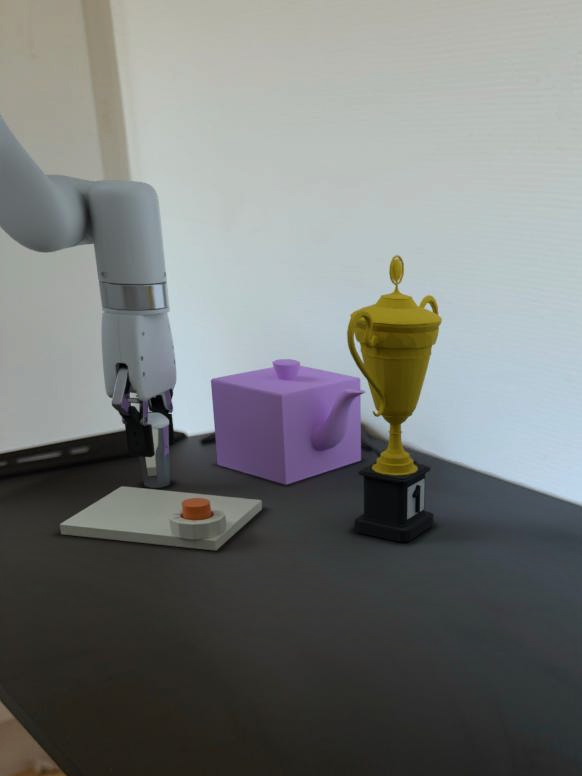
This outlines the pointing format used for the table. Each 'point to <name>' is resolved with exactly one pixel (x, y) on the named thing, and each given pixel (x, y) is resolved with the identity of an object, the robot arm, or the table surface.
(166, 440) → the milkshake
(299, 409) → the teapot
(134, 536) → the scale
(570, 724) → the table surface
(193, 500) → the button
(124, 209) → the robot arm
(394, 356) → the trophy
